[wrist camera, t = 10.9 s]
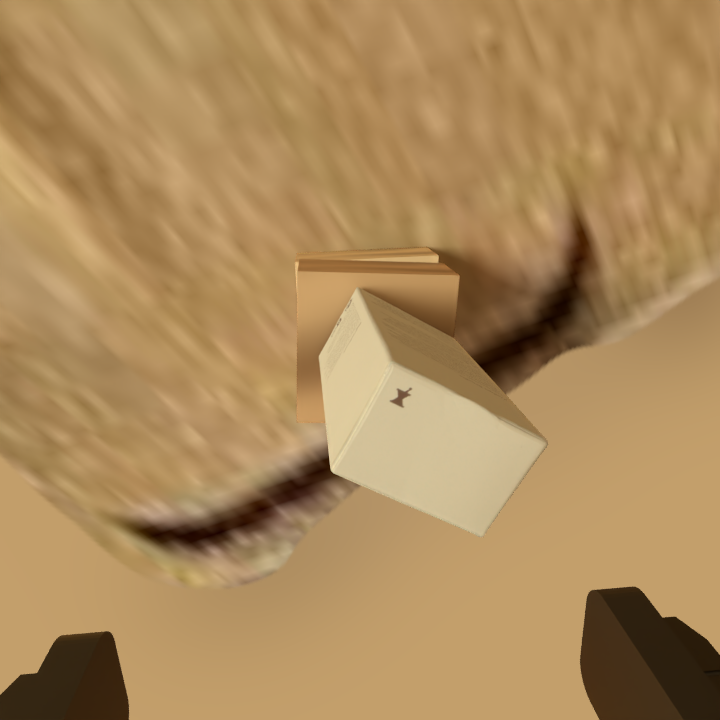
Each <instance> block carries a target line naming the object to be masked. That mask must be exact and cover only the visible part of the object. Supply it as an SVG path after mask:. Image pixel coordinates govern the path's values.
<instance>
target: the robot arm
mask: <svg viewBox="0 0 720 720" xmlns="http://www.w3.org/2000/svg"><path fill="white" fill-rule="evenodd" d="M580 665H581V674H582V678H583V683H584V686H585V690H586V692H587V695H588V697H589V700H590V702H591V704H592V705H593V707H594V710H595V712H596V714H597V716H598V718H599V719H600V720H720V655H719V654H718V652H717V651H716V650H715V649H714V647H713V646H712V645H711V644H710V643H709V641H708V640H707V639H705V638H704V637H703V636H701V635H700V634H698V633H697V632H696V631H694V630H693V629H691V628H690V627H689V626H687V625H686V624H685V623H683V622H682V621H680V620H679V619H678V618H677V617H665V618H662V617H661V615H660V614H659V613H658V611H657V610H656V609H655V608H654V606H653V605H652V603H650V601H649V600H648V598H647V597H646V596H645V594H644V593H643V592H642V591H641V590H640V589H639V588H636V587H624V588H612V589H601V590H592V591H590V592H589V594H588V596H587V601H586V610H585V619H584V628H583V637H582V646H581V655H580ZM0 720H129V704H128V697H127V693H126V688H125V684H124V680H123V675H122V671H121V667H120V663H119V658H118V654H117V649H116V645H115V641H114V638H113V635H112V634H111V633H110V632H107V631H106V632H95V633H85V634H72V635H62V636H60V637H58V638H57V639H56V641H55V642H54V643H53V645H52V647H51V648H50V650H49V652H48V654H47V656H46V658H45V660H44V661H43V663H42V665H41V667H40V669H39V671H38V673H35V674H24V675H20V676H19V677H18V678H17V679H16V680H15V681H14V682H13V683H12V684H11V685H10V686H9V687H8V688H7V689H6V690H5V691H4V692H3V693H2V694H1V695H0Z"/></svg>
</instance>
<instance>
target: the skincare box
mask: <svg viewBox="0 0 720 720" xmlns="http://www.w3.org/2000/svg"><path fill="white" fill-rule="evenodd" d="M319 363H320V374H321V383H322V393H323V402H324V412H325V421H326V431H327V441H328V450H329V459H330V468H331V471H332V472H333V473H334V474H336V475H339V476H341V477H343V478H346V479H348V480H350V481H352V482H355V483H357V484H359V485H361V486H364V487H366V488H368V489H371V490H373V491H375V492H377V493H380V494H382V495H384V496H387V497H389V498H391V499H394V500H396V501H398V502H401V503H403V504H405V505H408V506H410V507H412V508H415V509H417V510H420V511H422V512H424V513H427V514H429V515H432V516H434V517H436V518H438V519H441V520H443V521H445V522H448V523H450V524H452V525H455V526H457V527H459V528H461V529H464V530H466V531H468V532H471V533H473V534H475V535H477V536H478V537H483V536H484V535H485V533H486V532H487V530H488V529H489V527H490V526H491V524H492V523H493V521H494V520H495V518H496V517H497V516H498V514H499V513H500V511H501V510H502V508H503V507H504V505H505V504H506V503H507V501H508V500H509V498H510V497H511V496H512V494H513V493H514V491H515V490H516V489H517V487H518V486H519V484H520V483H521V482H522V480H523V479H524V477H525V476H526V474H527V473H528V471H529V470H530V469H531V467H532V466H533V464H534V463H535V462H536V460H537V459H538V458H539V456H540V455H541V453H542V452H543V451H544V450H545V448H546V447H547V445H548V442H547V440H546V439H545V438H544V437H543V436H542V435H541V434H540V432H539V431H538V430H537V429H536V428H535V427H534V426H533V424H532V423H531V422H530V421H529V420H528V419H527V418H526V417H525V415H524V414H523V413H522V412H521V411H520V410H519V409H518V408H517V407H516V405H514V403H513V402H512V401H511V400H510V399H509V398H508V397H507V395H506V394H505V393H504V392H503V391H502V390H501V389H500V388H499V387H498V386H497V385H496V384H495V382H494V381H493V380H492V379H491V378H490V377H489V376H488V375H487V374H486V373H485V372H484V370H483V369H482V368H481V367H480V366H479V365H478V364H477V363H476V362H475V361H474V360H473V359H472V357H471V356H470V355H469V354H468V353H467V352H466V351H465V349H464V348H463V347H462V346H461V345H460V344H459V343H458V342H457V341H456V340H455V339H454V338H452V337H451V336H449V335H447V334H445V333H443V332H441V331H440V330H438V329H436V328H434V327H432V326H430V325H428V324H426V323H425V322H423V321H421V320H419V319H417V318H415V317H413V316H412V315H410V314H408V313H406V312H404V311H402V310H400V309H399V308H397V307H395V306H393V305H391V304H389V303H387V302H385V301H383V300H382V299H380V298H378V297H376V296H374V295H372V294H370V293H368V292H367V291H365V290H363V289H361V288H359V287H357V288H356V290H355V291H354V293H353V295H352V297H351V299H350V300H349V302H348V304H347V306H346V307H345V309H344V311H343V313H342V314H341V316H340V318H339V320H338V322H337V324H336V326H335V328H334V329H333V331H332V333H331V335H330V337H329V339H328V341H327V342H326V344H325V346H324V348H323V350H322V351H321V353H320V355H319Z"/></svg>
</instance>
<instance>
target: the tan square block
mask: <svg viewBox="0 0 720 720" xmlns="http://www.w3.org/2000/svg"><path fill="white" fill-rule="evenodd" d="M459 278H460V275H458V274H457V273H456V272H454V271H453V270H452V269H450V268H449V267H448V266H446V265H445V264H444V263H430V262H393V261H357V260H321V259H299V265H298V271H297V423H326V421H325V412H324V402H323V393H322V383H321V374H320V363H319V355H320V353H321V351H322V350H323V348H324V346H325V344H326V342H327V341H328V339H329V337H330V335H331V333H332V331H333V329H334V328H335V326H336V324H337V322H338V320H339V318H340V316H341V314H342V313H343V311H344V309H345V307H346V306H347V304H348V302H349V300H350V299H351V297H352V295H353V293H354V291H355V290H356V288H357V287H359V288H361V289H363V290H365V291H367V292H368V293H370V294H372V295H374V296H376V297H378V298H380V299H382V300H383V301H385V302H387V303H389V304H391V305H393V306H395V307H397V308H399V309H400V310H402V311H404V312H406V313H408V314H410V315H412V316H413V317H415V318H417V319H419V320H421V321H423V322H425V323H426V324H428V325H430V326H432V327H434V328H436V329H438V330H440V331H441V332H443V333H445V334H447V335H449V336H451V337H452V338H454V331H455V321H456V310H457V299H458V288H459Z"/></svg>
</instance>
